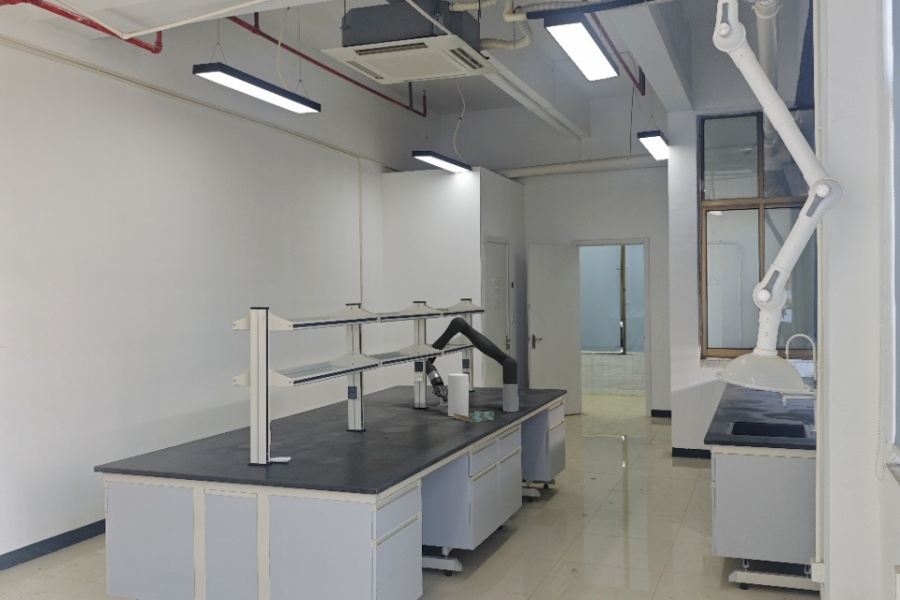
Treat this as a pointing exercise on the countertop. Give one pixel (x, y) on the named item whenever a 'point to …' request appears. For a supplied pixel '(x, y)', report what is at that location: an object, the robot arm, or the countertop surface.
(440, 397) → the test tube rack
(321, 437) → the countertop surface
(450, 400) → the cylinder
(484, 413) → the cradle
